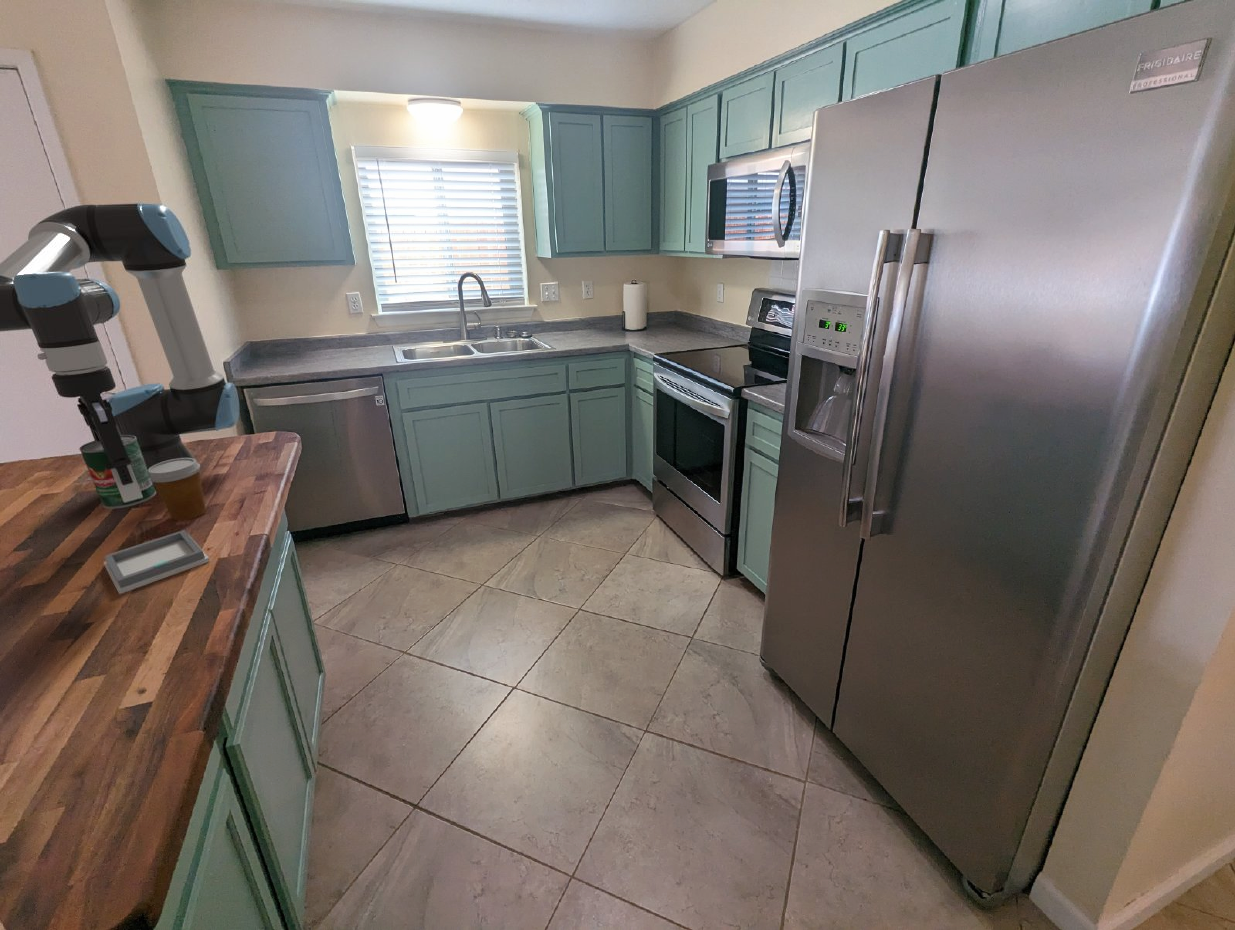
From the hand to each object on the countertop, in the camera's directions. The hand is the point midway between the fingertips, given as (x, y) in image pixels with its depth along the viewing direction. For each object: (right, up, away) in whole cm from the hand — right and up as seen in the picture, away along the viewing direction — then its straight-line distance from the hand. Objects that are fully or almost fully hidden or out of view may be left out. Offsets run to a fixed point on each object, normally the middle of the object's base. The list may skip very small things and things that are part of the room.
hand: (128, 492), depth 106 cm
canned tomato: (0, -1, +1) cm, 1 cm away
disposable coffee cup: (-7, -6, +25) cm, 27 cm away
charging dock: (+1, -14, +6) cm, 15 cm away
